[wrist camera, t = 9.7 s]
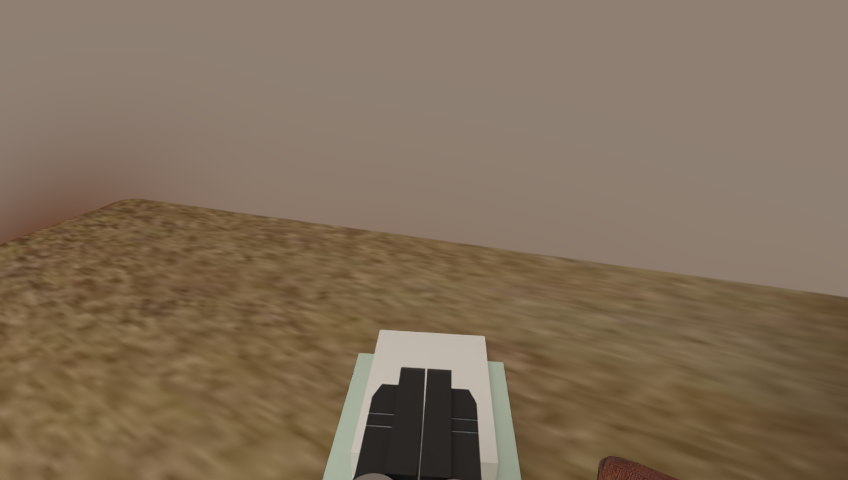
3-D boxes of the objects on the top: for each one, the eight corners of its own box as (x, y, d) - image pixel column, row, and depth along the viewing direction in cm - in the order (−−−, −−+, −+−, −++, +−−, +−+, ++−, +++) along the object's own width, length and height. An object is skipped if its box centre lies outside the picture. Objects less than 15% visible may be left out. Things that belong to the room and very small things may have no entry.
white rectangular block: (498, 463, 30) (484, 336, 43) (350, 452, 31) (380, 329, 43) (494, 489, 31) (482, 358, 44) (351, 478, 32) (380, 351, 45)
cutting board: (537, 602, 26) (539, 596, 26) (295, 582, 26) (294, 576, 26) (502, 367, 44) (503, 362, 44) (359, 358, 44) (359, 353, 44)
